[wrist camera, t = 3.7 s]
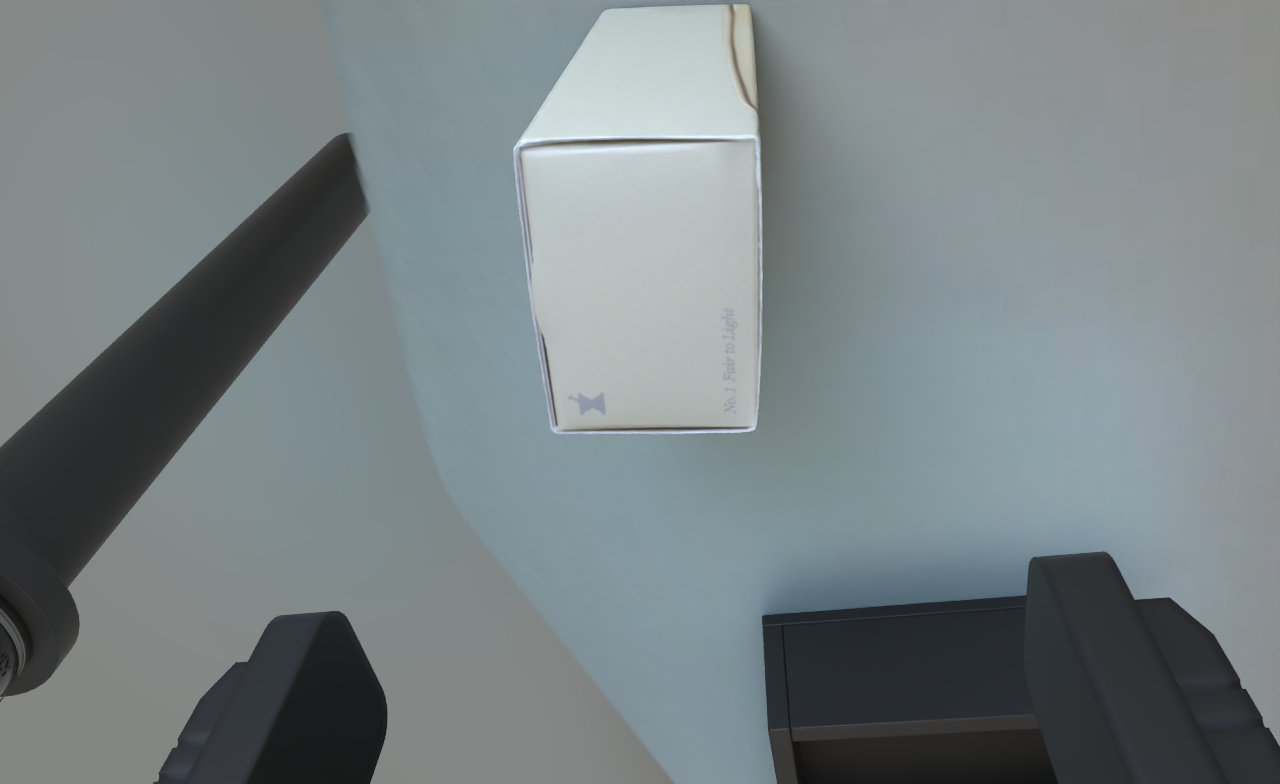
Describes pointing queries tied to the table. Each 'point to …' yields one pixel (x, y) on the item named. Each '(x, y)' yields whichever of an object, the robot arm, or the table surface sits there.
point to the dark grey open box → (903, 696)
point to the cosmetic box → (648, 226)
